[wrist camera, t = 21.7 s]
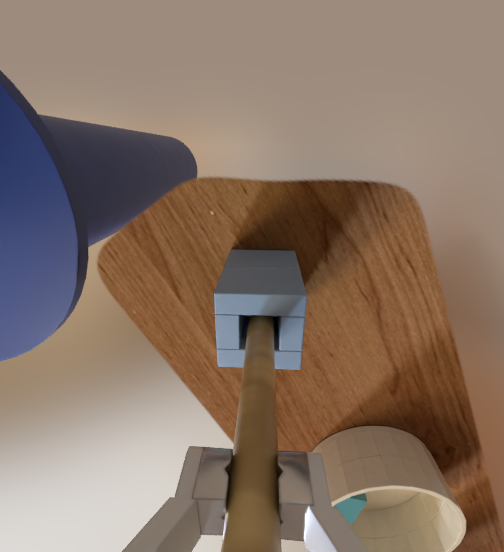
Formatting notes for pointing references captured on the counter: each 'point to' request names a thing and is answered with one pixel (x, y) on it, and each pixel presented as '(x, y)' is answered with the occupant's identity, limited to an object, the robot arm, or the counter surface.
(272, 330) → the stirring stick
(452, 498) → the bowl
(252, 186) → the counter surface
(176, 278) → the counter surface
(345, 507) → the teal block
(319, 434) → the counter surface
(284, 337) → the holder
